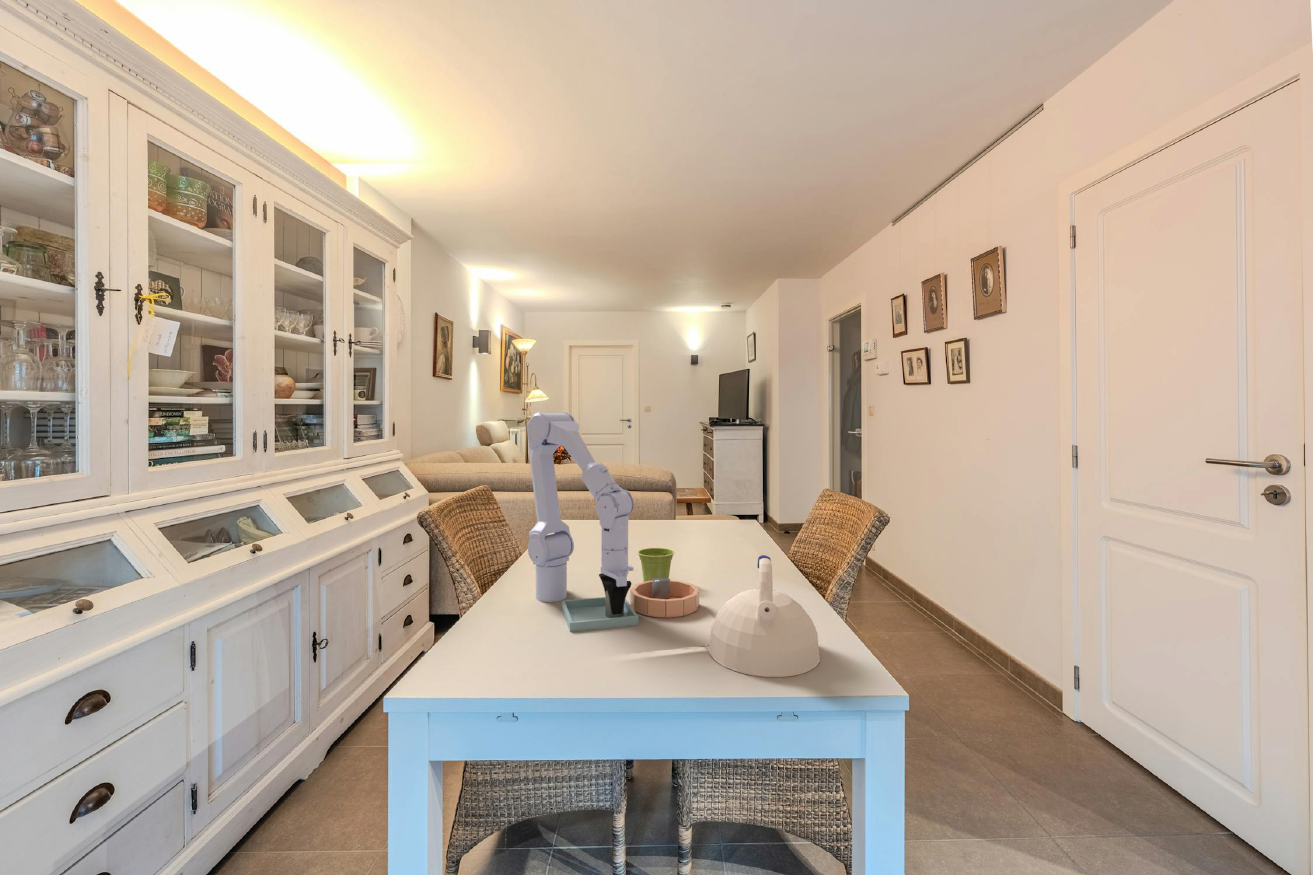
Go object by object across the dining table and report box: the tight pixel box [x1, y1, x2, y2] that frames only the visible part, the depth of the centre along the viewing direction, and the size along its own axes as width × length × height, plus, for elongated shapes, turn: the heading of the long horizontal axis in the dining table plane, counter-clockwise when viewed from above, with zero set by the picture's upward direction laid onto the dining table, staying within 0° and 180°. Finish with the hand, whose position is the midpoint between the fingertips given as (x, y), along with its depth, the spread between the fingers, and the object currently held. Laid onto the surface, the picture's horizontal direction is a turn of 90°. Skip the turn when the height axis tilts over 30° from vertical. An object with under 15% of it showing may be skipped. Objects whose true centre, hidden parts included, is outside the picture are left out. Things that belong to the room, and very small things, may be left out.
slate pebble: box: [604, 590, 624, 618], centre depth 123 cm, size 4×4×5 cm
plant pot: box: [637, 547, 675, 582], centre depth 147 cm, size 9×9×9 cm
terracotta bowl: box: [629, 579, 700, 619], centre depth 129 cm, size 15×15×4 cm
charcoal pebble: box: [653, 577, 671, 599], centre depth 132 cm, size 4×4×5 cm
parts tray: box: [561, 596, 639, 633], centre depth 122 cm, size 14×14×2 cm
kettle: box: [708, 554, 821, 678], centre depth 106 cm, size 20×21×18 cm
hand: (614, 609), depth 123 cm, fingers closed on slate pebble, 4 cm apart
